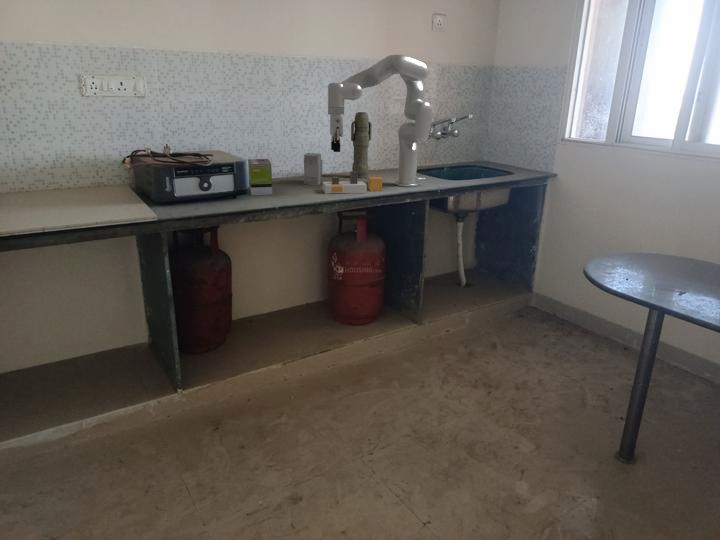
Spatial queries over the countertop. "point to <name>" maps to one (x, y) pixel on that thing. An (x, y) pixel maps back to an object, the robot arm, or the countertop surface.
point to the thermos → (361, 143)
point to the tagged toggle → (335, 180)
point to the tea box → (260, 176)
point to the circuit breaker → (312, 168)
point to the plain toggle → (353, 177)
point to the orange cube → (375, 183)
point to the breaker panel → (344, 187)
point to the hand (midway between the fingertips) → (335, 150)
